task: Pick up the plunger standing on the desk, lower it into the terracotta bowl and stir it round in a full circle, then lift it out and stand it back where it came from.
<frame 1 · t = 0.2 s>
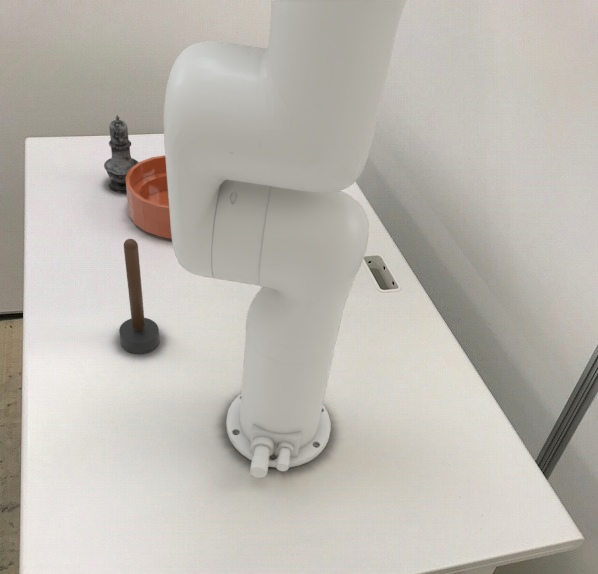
hand: (340, 22, 85), 31 cm above the table, tool pointing down, fingers open, 9 cm apart
salt shaker: (124, 185, 110), on the table
bowl: (179, 213, 106), on the table
plunger: (140, 340, 85), on the table
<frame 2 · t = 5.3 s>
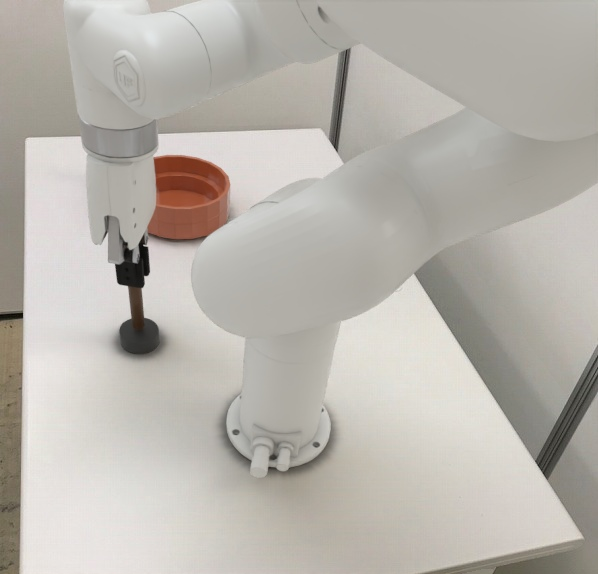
hand: (133, 278, 77), 10 cm above the table, tool pointing down, fingers closed on plunger
plunger: (140, 340, 85), on the table, touching gripper
everything else where it was.
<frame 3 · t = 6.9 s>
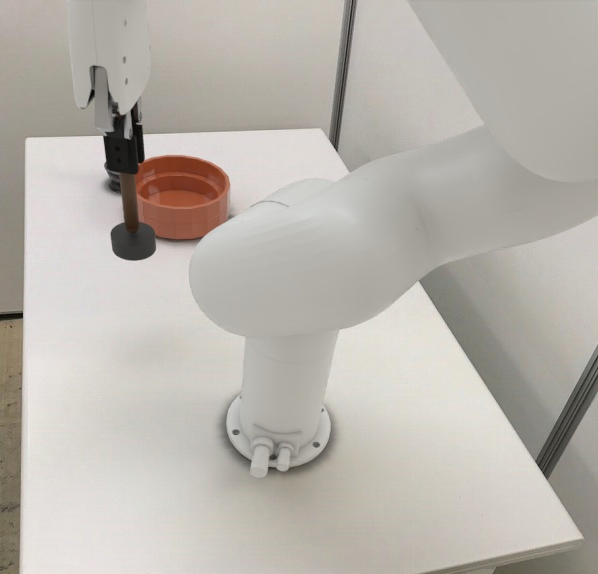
hand: (126, 164, 67), 25 cm above the table, tool pointing down, fingers closed on plunger
plunger: (134, 248, 75), point 14 cm above the table, touching gripper
everything else where it was.
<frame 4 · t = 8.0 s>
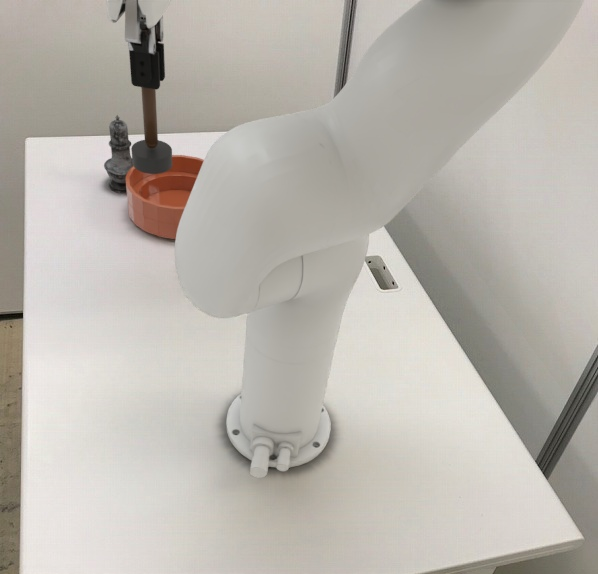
hand: (148, 81, 75), 27 cm above the table, tool pointing down, fingers closed on plunger
plunger: (152, 163, 82), point 17 cm above the table, touching gripper
everything else where it was.
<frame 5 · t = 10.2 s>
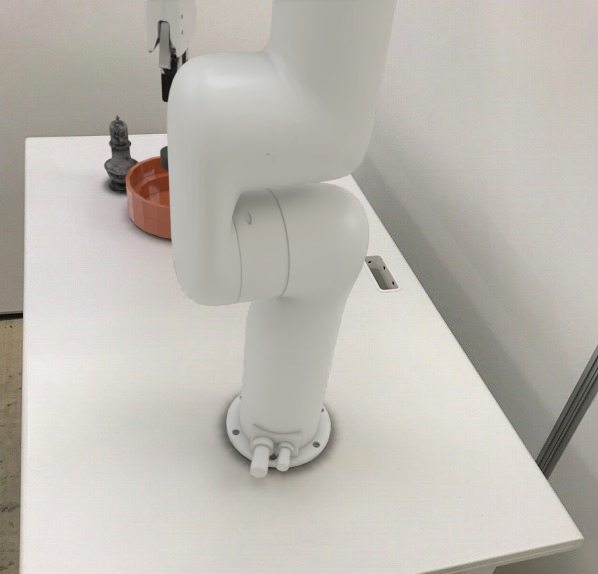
hand: (175, 98, 92), 19 cm above the table, tool pointing down, fingers closed on plunger
plunger: (177, 164, 100), point 8 cm above the table, touching gripper
everything else where it was.
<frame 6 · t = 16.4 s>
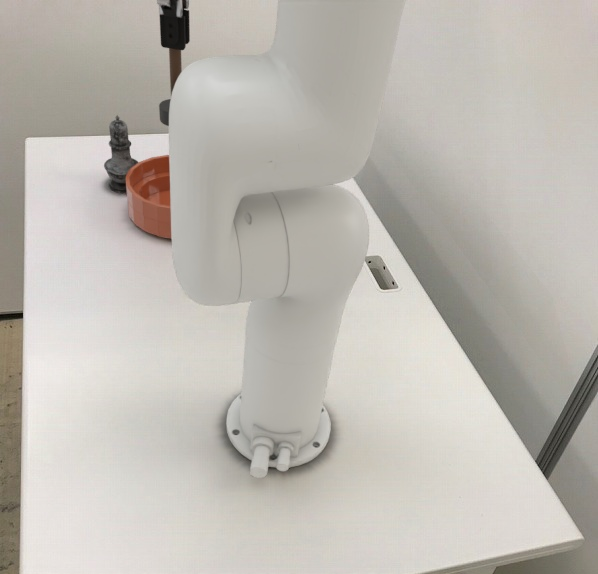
hand: (175, 44, 86), 26 cm above the table, tool pointing down, fingers closed on plunger
plunger: (177, 119, 94), point 16 cm above the table, touching gripper
everything else where it was.
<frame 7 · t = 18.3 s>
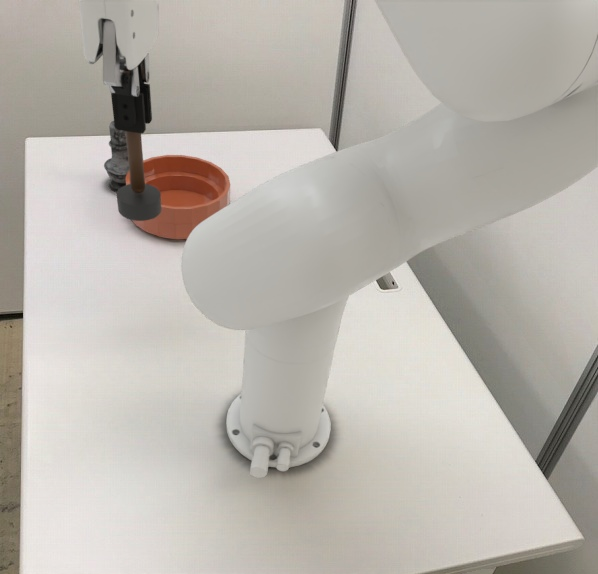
hand: (133, 124, 69), 27 cm above the table, tool pointing down, fingers closed on plunger
plunger: (140, 209, 76), point 17 cm above the table, touching gripper
everything else where it was.
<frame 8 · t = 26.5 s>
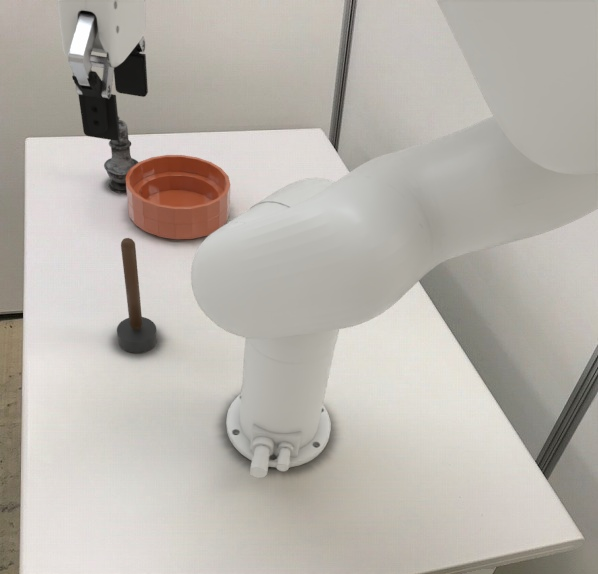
hand: (117, 114, 63), 30 cm above the table, tool pointing down, fingers open, 9 cm apart
plunger: (137, 340, 85), on the table
everything else where it was.
at the end: plunger tilted 0°; the gripper is holding nothing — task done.
